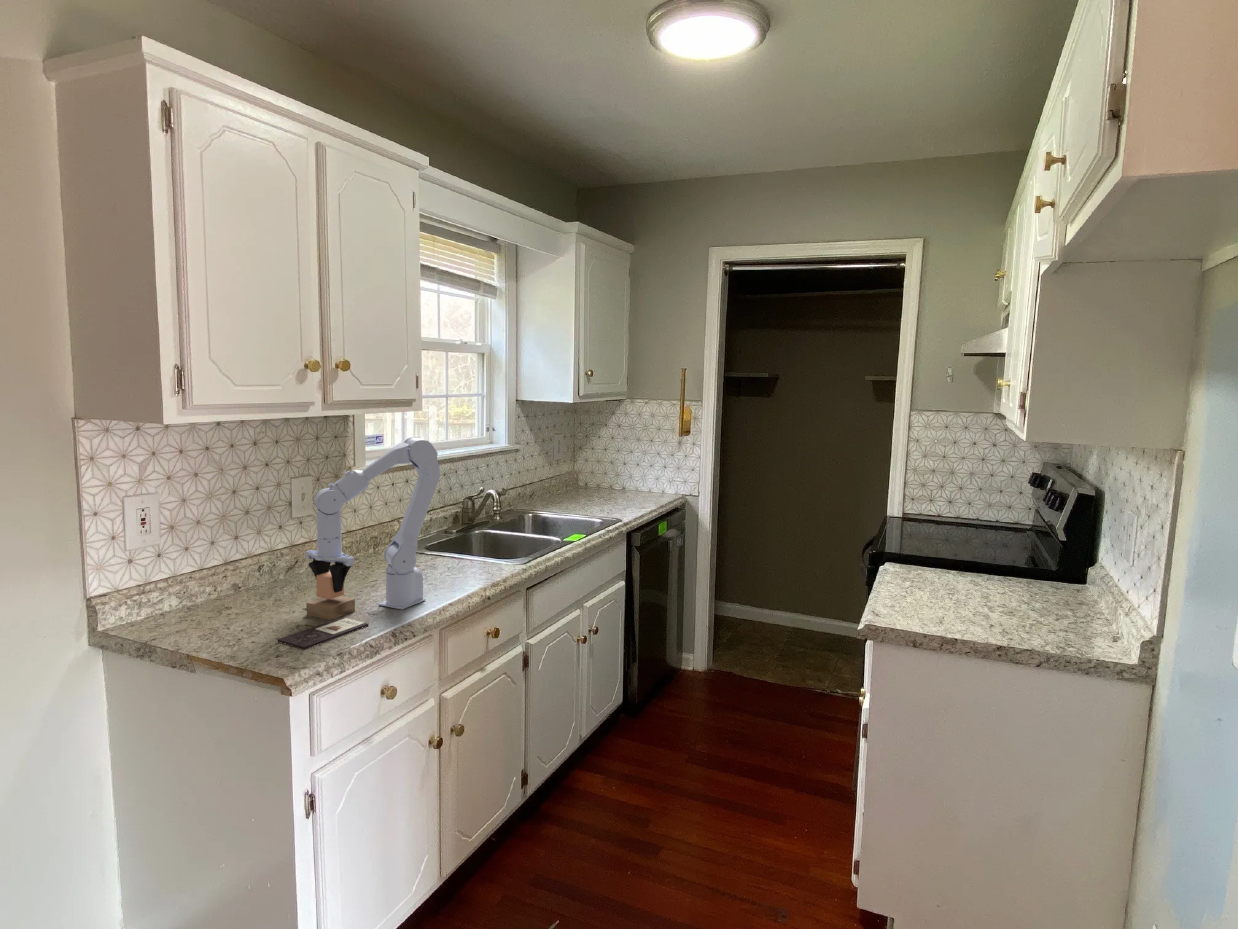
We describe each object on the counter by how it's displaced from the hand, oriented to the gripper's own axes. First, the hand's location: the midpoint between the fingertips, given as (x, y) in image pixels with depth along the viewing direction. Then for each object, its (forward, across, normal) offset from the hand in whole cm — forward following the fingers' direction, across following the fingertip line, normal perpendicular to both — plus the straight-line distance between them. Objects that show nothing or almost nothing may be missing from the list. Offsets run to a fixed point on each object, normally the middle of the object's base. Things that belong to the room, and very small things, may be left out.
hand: (330, 590), depth 184 cm
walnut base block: (+6, 0, 0) cm, 6 cm away
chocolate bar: (+7, +10, -12) cm, 17 cm away
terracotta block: (+1, 0, 0) cm, 1 cm away
